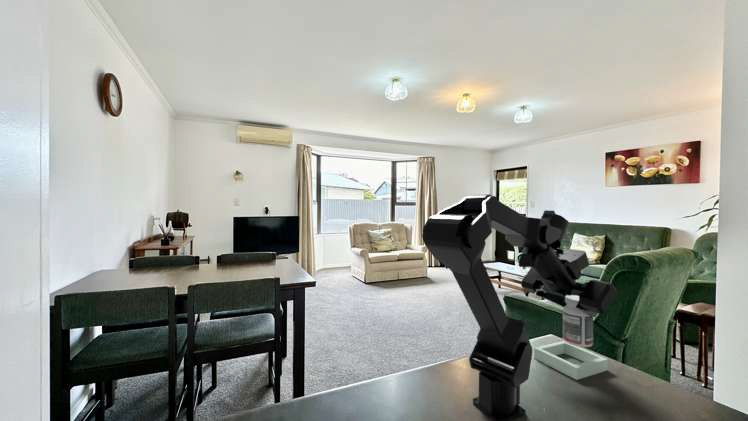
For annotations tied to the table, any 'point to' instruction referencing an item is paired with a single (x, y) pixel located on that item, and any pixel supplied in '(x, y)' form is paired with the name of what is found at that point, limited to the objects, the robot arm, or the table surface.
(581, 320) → the pill bottle
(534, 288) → the robot arm
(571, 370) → the bottle holder
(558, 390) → the table surface
